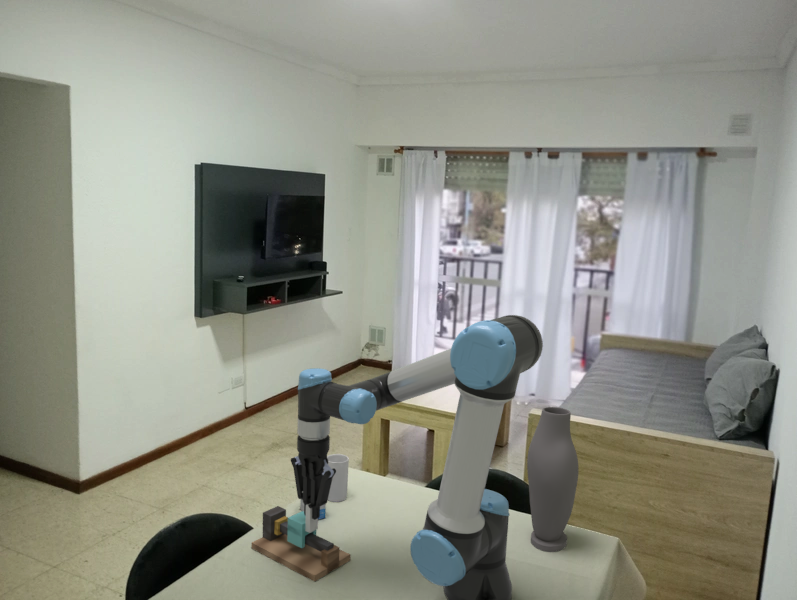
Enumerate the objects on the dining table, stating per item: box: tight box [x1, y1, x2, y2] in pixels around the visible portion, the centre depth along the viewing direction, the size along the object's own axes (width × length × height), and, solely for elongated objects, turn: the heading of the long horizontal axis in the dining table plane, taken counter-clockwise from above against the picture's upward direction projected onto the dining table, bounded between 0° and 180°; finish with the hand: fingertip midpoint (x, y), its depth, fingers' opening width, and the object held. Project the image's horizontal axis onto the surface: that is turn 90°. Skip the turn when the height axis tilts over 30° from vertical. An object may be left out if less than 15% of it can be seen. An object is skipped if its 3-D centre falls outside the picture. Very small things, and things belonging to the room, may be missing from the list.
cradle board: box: [251, 505, 352, 582], centre depth 156 cm, size 22×12×8 cm, turn 52°
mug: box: [327, 453, 350, 503], centre depth 189 cm, size 10×7×12 cm, turn 177°
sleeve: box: [287, 510, 318, 548], centre depth 155 cm, size 5×5×6 cm
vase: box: [526, 406, 579, 553], centre depth 165 cm, size 13×13×35 cm
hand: (311, 529), depth 153 cm, fingers closed
